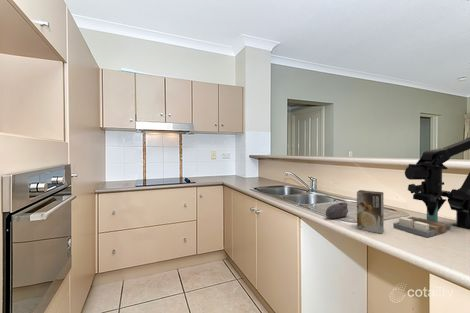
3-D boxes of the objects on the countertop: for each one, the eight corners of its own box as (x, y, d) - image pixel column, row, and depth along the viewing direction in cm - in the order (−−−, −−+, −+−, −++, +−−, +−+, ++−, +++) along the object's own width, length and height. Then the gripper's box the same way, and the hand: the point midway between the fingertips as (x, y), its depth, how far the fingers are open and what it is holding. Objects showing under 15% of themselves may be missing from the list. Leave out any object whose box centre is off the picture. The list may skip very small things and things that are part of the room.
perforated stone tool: (330, 221, 104) (330, 206, 104) (321, 218, 109) (321, 204, 108) (351, 217, 110) (351, 203, 110) (342, 214, 115) (342, 201, 115)
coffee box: (384, 229, 92) (384, 192, 91) (381, 234, 87) (381, 194, 87) (359, 225, 98) (360, 189, 98) (356, 228, 93) (356, 191, 93)
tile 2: (417, 221, 89) (413, 222, 88) (429, 224, 85) (425, 225, 84) (417, 230, 89) (413, 231, 88) (429, 234, 86) (425, 235, 84)
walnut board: (412, 223, 100) (412, 216, 100) (446, 232, 89) (446, 224, 89) (402, 225, 97) (402, 219, 96) (435, 235, 86) (435, 227, 86)
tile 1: (402, 217, 95) (399, 217, 94) (413, 219, 91) (409, 220, 90) (402, 226, 95) (399, 227, 94) (413, 229, 91) (409, 230, 90)
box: (401, 225, 96) (401, 221, 96) (435, 235, 85) (435, 230, 85) (393, 227, 94) (393, 223, 94) (426, 237, 83) (426, 232, 83)
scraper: (419, 222, 101) (419, 200, 101) (450, 229, 91) (450, 206, 91) (415, 223, 100) (415, 201, 100) (446, 231, 90) (446, 207, 90)
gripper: (423, 176, 106) (422, 208, 107) (399, 178, 99) (399, 212, 99) (453, 179, 96) (452, 214, 96) (429, 181, 88) (429, 219, 89)
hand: (432, 214), depth 95 cm, fingers closed on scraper, 2 cm apart
